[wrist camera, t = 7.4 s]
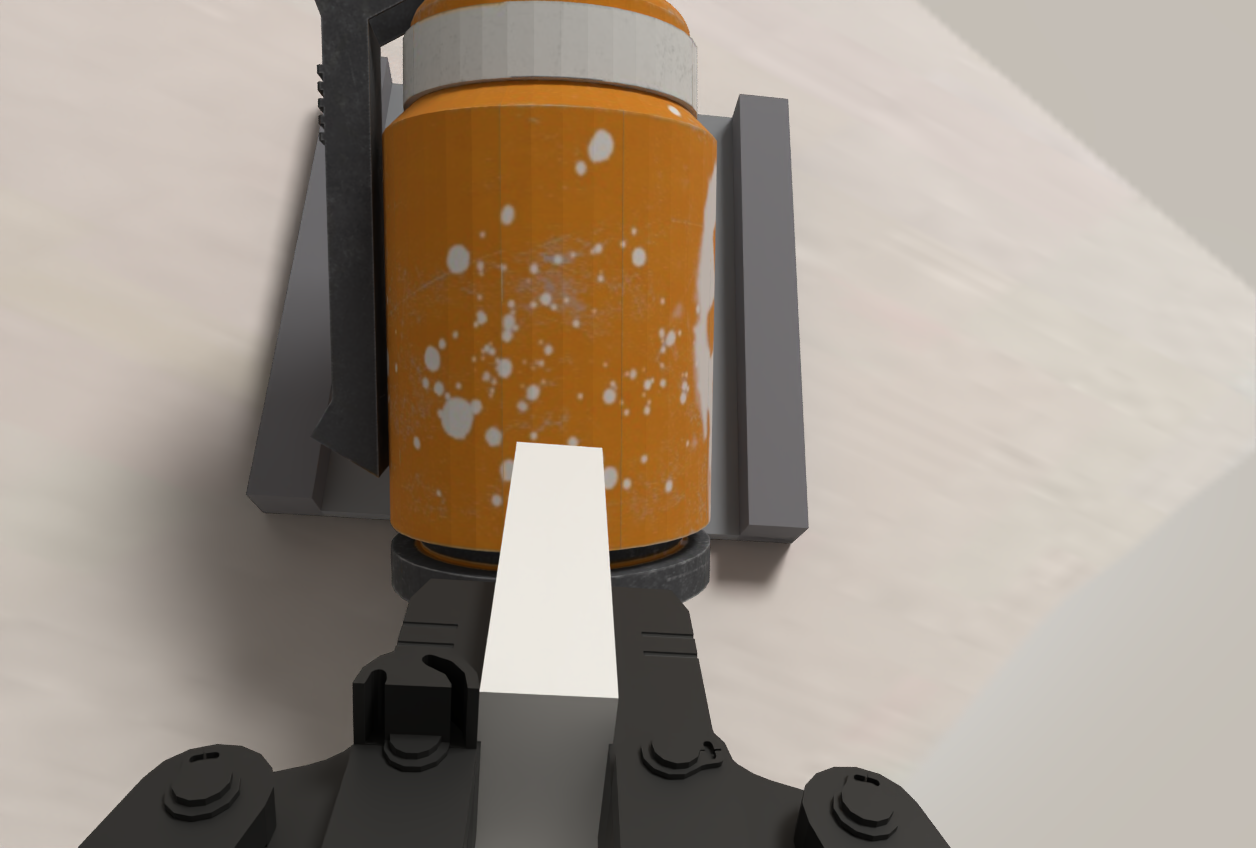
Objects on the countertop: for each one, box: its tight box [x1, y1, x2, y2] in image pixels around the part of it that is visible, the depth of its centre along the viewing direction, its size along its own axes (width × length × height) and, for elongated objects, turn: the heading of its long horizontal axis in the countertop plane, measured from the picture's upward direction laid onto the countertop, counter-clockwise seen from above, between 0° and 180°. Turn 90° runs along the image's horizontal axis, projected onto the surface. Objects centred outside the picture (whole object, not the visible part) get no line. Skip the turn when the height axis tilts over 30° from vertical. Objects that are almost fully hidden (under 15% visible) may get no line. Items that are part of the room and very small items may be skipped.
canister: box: [310, 0, 717, 603], centre depth 25 cm, size 9×11×20 cm
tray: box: [246, 57, 809, 543], centre depth 33 cm, size 18×18×2 cm
